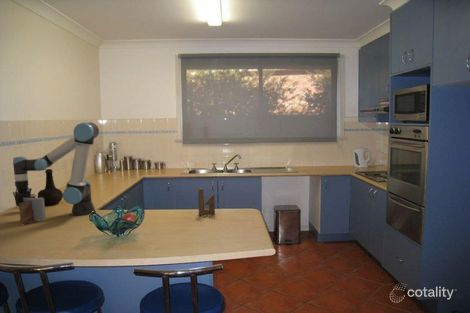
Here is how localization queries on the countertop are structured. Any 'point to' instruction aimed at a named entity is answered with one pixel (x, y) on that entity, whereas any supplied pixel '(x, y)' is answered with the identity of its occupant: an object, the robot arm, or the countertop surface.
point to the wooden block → (206, 203)
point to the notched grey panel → (37, 207)
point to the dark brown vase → (50, 190)
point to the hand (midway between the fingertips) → (24, 215)
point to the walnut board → (26, 212)
